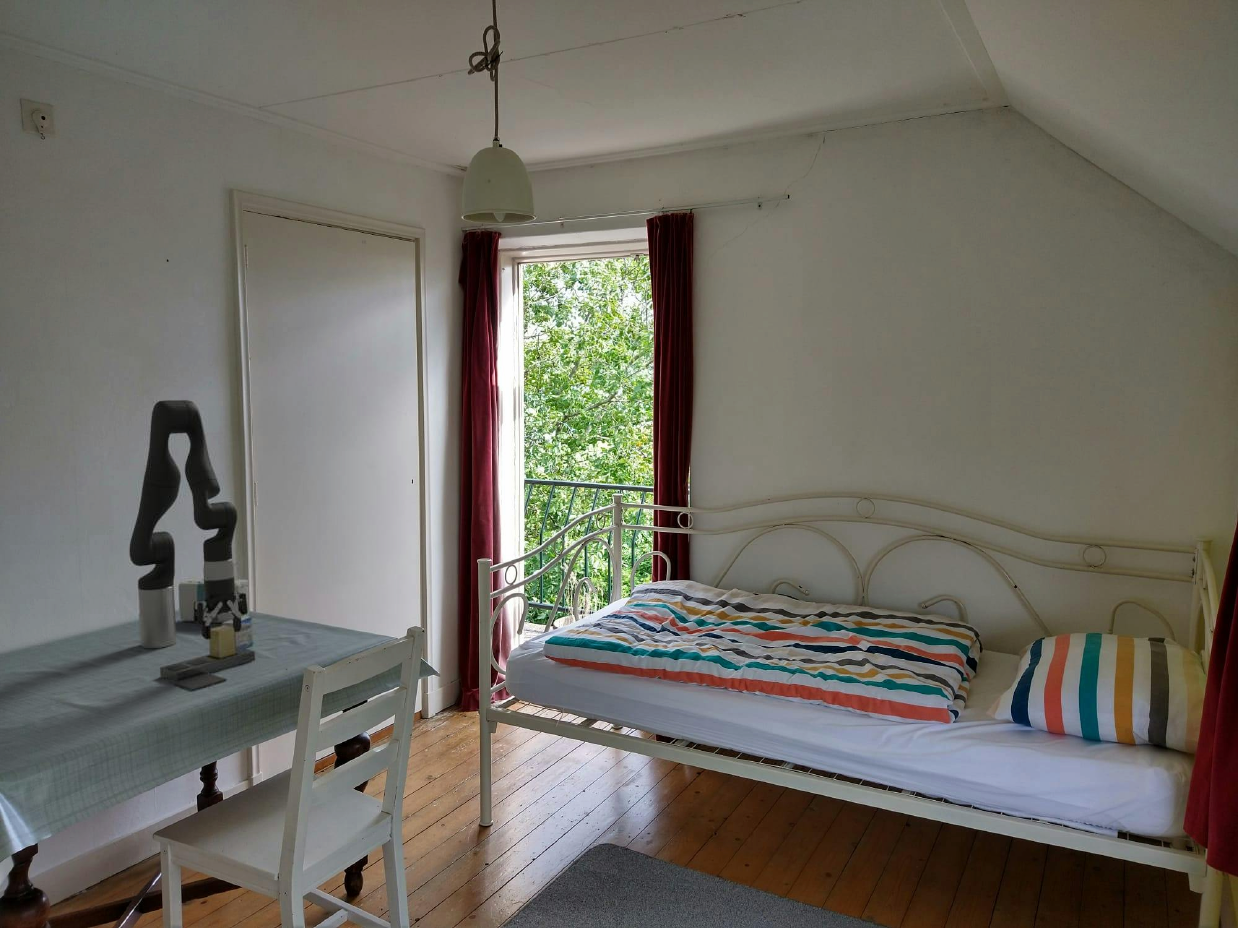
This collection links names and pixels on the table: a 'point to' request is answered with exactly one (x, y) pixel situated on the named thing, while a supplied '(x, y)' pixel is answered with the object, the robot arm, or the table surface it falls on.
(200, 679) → the rubber mat
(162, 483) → the robot arm
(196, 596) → the stereo radio cassette player
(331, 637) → the table surface
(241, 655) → the rail
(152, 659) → the table surface
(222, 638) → the brass block
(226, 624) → the medicine box
